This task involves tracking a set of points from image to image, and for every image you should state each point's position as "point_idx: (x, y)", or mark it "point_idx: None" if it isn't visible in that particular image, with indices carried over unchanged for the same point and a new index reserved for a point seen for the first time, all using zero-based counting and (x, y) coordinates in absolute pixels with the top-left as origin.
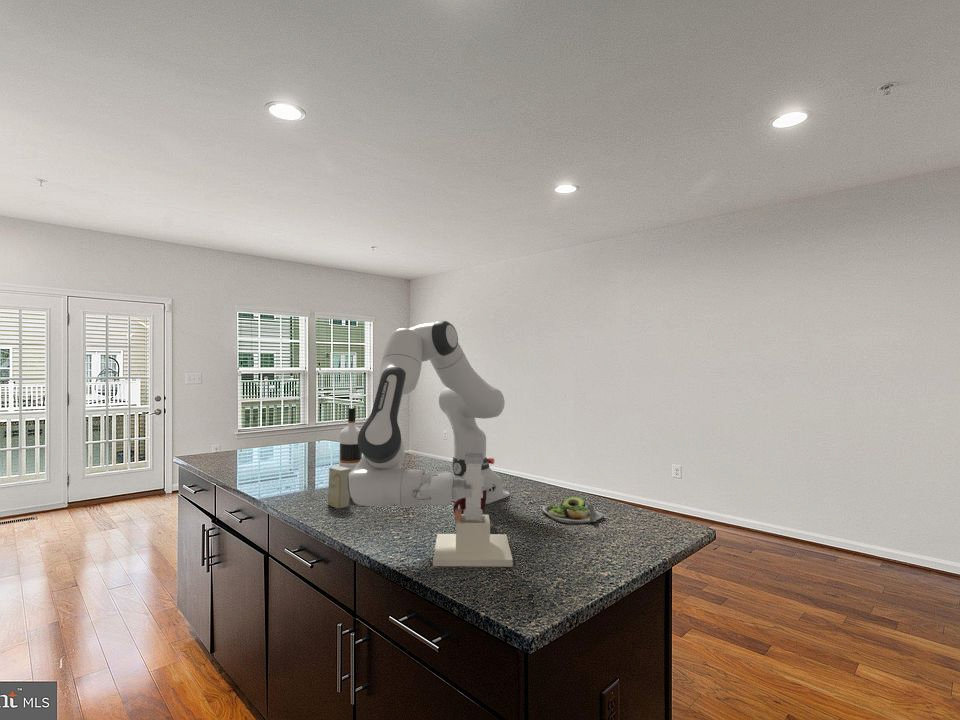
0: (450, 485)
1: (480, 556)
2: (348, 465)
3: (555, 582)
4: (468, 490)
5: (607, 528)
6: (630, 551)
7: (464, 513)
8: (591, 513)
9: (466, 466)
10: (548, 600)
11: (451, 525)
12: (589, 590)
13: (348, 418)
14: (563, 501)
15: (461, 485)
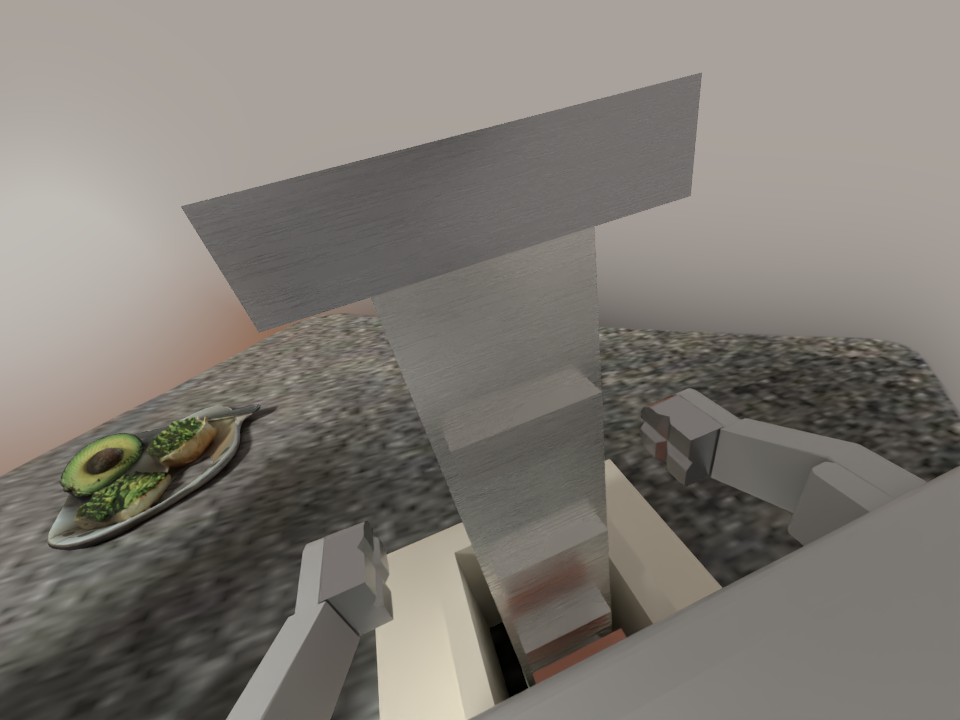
0: (916, 521)
1: (656, 560)
2: None
3: (634, 380)
4: (709, 402)
5: (287, 394)
6: None
7: (607, 607)
8: (203, 419)
9: (595, 274)
10: (729, 365)
11: None
12: (627, 341)
13: None
14: (70, 487)
15: (332, 680)
